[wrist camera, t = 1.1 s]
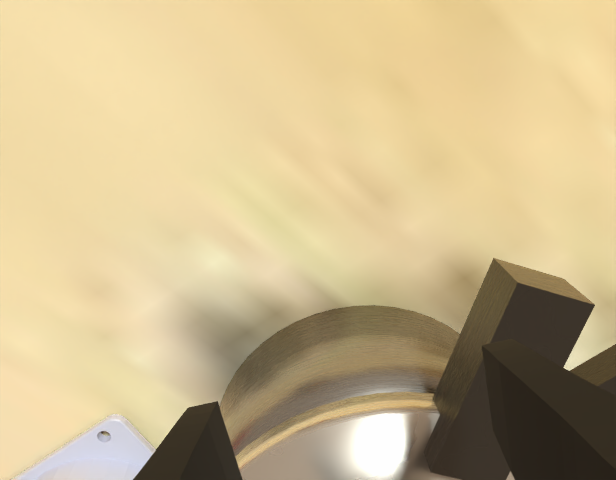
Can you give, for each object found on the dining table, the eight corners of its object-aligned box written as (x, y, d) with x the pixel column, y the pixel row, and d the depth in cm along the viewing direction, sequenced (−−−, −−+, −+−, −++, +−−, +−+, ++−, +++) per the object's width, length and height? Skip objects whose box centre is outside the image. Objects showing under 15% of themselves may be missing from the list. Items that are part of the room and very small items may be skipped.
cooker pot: (322, 590, 27) (333, 737, 21) (155, 410, 23) (115, 528, 18) (648, 408, 24) (759, 519, 19) (516, 178, 21) (603, 228, 15)
